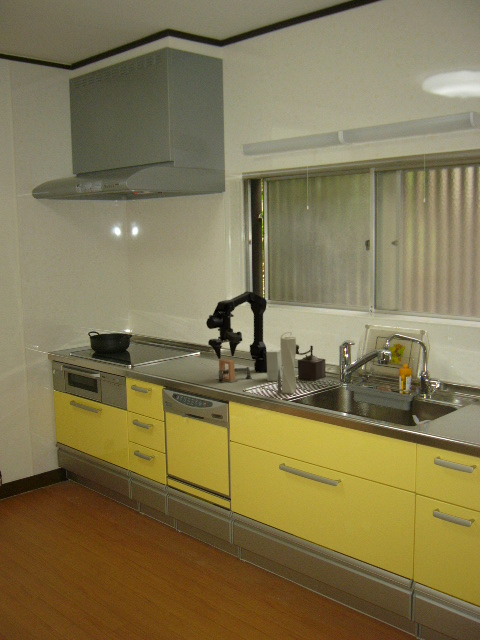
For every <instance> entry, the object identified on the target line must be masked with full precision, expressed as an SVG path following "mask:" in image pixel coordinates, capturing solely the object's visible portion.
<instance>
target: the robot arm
mask: <svg viewBox="0 0 480 640" xmlns="http://www.w3.org/2000/svg"><path fill="white" fill-rule="evenodd" d="M246 302H247V303H248V304H249V305H250V306H249V307H250V309H251V312H252V313H253V342H252V343H251V344H249V353H250V356H251V359H252V360H253V361H254V363H253V364H254V366H253V368H254V370H253V371H255V373H267V356H266V352H268V351H267V346H266V344H265V342H264V313H265V312H266V310H267V299H266V298H265V297H262V296H260V295H258V294H256V293H255V292H253V291H244V292H243V293H241V294H239V295H237V296H235V297H233V298H231V299H227V300H225V299H224V300H220V301H218V302H217V305H216V306H215V308H214V311H213V313H212V314H210V315H208V318H207V319H206V327H207V328H208V329H209V330H213V329H217V331H219V336H218V338H211V339H210V338H209V340H208V341H207V342H208V346H210V347H211V348H212V349H213V351H214V353H215V355H216V357H217V358H218V360H221V357H222V355H221V354H222V350H221V349H222V347H223V345H222V344H223V343H228V344H229V345H228V346H229V351H230V355H231V356H232V357H234V356H235V353H236V349H237V347H238V345H239V344H241V343H242V342H243V335H242V332H241V331H237V332H235V331H234V329H233V328H232V324H231V323H232V322H231V320H232V319H231V318H233V317H234V316H235V315H234V314H233V311H234V310H235V309H236V308H237V307H239V306H240V305H242V304H245V303H246Z"/></svg>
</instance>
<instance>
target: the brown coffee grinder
mask: <svg viewBox="0 0 480 640" xmlns="http://www.w3.org/2000/svg"><path fill="white" fill-rule="evenodd" d="M309 347H310V349H309V350H307V351H305V352H300V350H299V349H300V345H299V344H297V343H296V355H299V356H303V355H305V357H302V358H301V359H298V360H297V378H298V379H301V380H307V381H313V382H314V381H318V380H321V379H324V378H325V377H326V374H327V373H326V359H325V358H320V357H317V356H315V355H314V353H313V350H314V346H313V345H310V346H309ZM309 353H310V355H307V354H309Z"/></svg>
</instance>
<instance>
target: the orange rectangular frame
mask: <svg viewBox="0 0 480 640" xmlns="http://www.w3.org/2000/svg"><path fill="white" fill-rule="evenodd" d="M226 365H228V369H229V373H228V376H226V374H224V375H223V380H225V381H230V382H231V381H235V380H236V375H235V373H236V372H235V369H234V368H235V360H232V359H226V358H222V359H218V367H219V368H218V369H219V370H226ZM219 370H218V371H219ZM225 381H224V382H225Z"/></svg>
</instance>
